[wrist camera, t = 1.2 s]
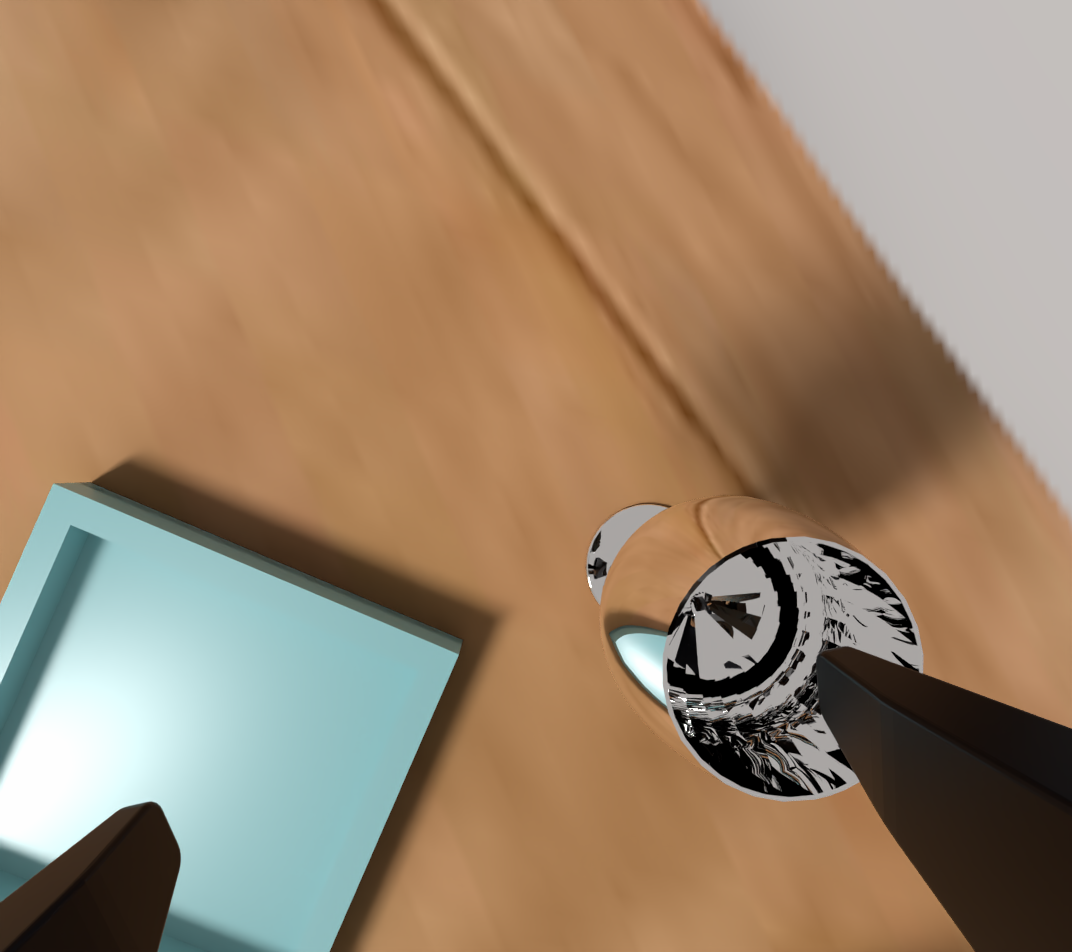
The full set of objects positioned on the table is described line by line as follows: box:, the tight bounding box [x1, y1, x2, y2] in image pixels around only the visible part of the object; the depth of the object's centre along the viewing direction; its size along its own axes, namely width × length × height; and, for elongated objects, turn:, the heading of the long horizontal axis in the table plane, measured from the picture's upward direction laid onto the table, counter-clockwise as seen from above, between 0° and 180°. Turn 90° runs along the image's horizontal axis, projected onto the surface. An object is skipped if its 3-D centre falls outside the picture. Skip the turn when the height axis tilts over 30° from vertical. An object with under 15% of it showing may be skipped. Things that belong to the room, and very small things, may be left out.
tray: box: [0, 482, 463, 952], centre depth 22 cm, size 14×14×2 cm
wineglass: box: [585, 495, 923, 802], centre depth 17 cm, size 6×6×12 cm
